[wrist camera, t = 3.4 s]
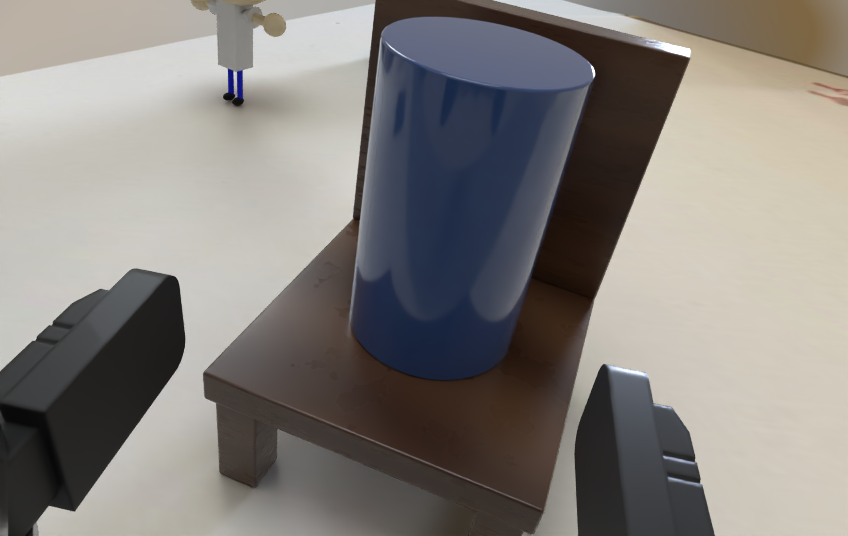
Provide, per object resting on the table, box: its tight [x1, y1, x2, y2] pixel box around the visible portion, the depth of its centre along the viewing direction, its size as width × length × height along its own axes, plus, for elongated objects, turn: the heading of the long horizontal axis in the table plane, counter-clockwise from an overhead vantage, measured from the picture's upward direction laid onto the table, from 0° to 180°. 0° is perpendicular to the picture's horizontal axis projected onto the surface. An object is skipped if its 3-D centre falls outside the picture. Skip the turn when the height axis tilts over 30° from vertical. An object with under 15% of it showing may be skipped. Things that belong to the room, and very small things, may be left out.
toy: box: [191, 0, 286, 105], centre depth 45 cm, size 9×7×15 cm
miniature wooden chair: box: [203, 0, 690, 536], centre depth 22 cm, size 12×11×15 cm
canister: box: [350, 17, 595, 380], centre depth 20 cm, size 6×6×10 cm
